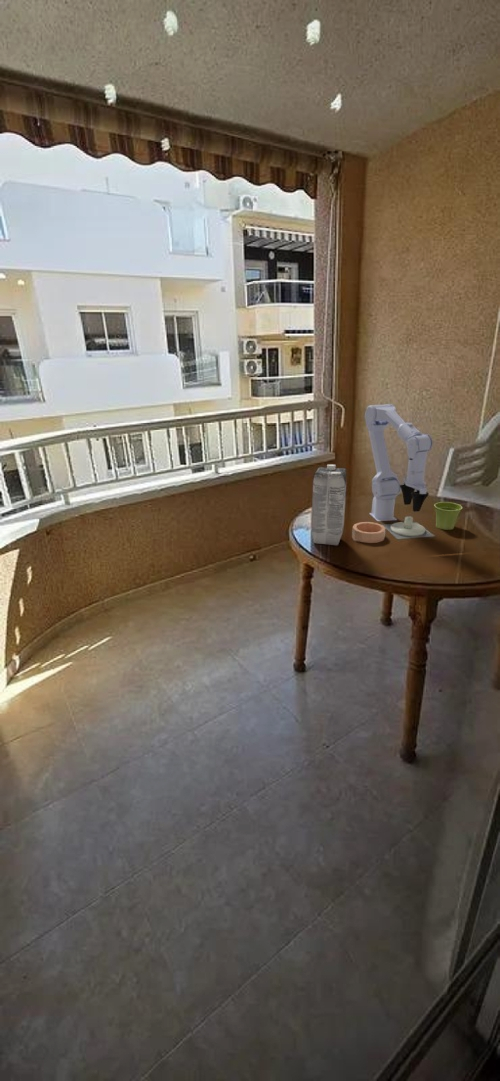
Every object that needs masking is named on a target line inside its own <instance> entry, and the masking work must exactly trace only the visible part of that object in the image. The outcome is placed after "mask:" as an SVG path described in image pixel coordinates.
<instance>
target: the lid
mask: <svg viewBox="0 0 500 1081" xmlns="http://www.w3.org/2000/svg"><path fill="white" fill-rule="evenodd" d="M391 524H392V525H391V528H390V529H391V531H392V532H393V533H395V534H398V535H402V536H409V537H415V536H421V535H423V534H424V533H425V529H426V528H425V527H424V526H423V525H421V524H420V523H419V524H420V525H419V524H416V523H414V516H409V515H407V516H404V521H400V522H399V521H398V522H394V523H391Z"/></svg>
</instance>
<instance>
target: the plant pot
mask: <svg viewBox="0 0 500 1081" xmlns="http://www.w3.org/2000/svg"><path fill="white" fill-rule="evenodd" d="M433 506H434V509H435V527H436V528H438V529H441V530H446V531H447V530H448V531H451V530H453V529H454V528H455V525H456V523H457V520H458V518H459V515H460V513H461V511H462V509H463V506H462V505H461V504H458V503H455V502H450V501H442V502H439V501H438V502H436V503H434V504H433Z"/></svg>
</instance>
